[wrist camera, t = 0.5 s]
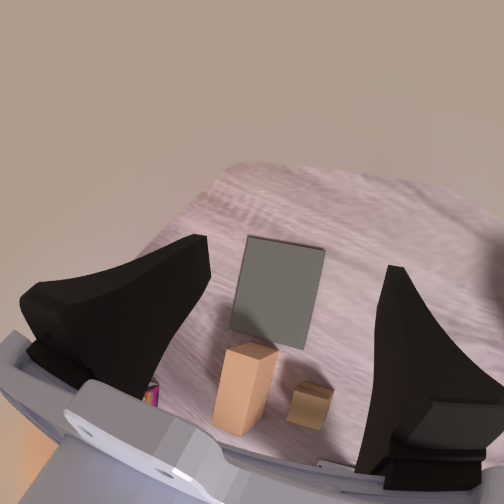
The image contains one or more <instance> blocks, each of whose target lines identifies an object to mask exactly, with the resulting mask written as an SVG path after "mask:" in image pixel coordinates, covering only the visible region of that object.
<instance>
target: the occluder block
mask: <svg viewBox="0 0 504 504" xmlns="http://www.w3.org/2000/svg"><path fill="white" fill-rule="evenodd" d="M278 353H279V350H276V349H273V348H269V347H266V346H263V345H259V344H256V343H253V342H248V343H244V344H241V345H238V346H235V347H232V348H229V349H227V350H226V354H225V359H224V364H223V369H222V373H221V378H220V383H219V388H218V393H217V397H216V402H215V407H214V412H213V417H212V422H211V425H213V426H215V427H217V428H220V429H222V430H224V431H227V432H229V433H231V434H234V435H236V436H239V437H242V436H243V435H244V434H245V433H246V432H247V431H249V430H250V429H251V428H252V427H253V426H254V425H256V424H257V423H258V422H259V421H260V420H261V419H262V416H263V412H264V408H265V404H266V401H267V397H268V393H269V389H270V385H271V381H272V377H273V373H274V369H275V365H276V361H277V357H278Z"/></svg>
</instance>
